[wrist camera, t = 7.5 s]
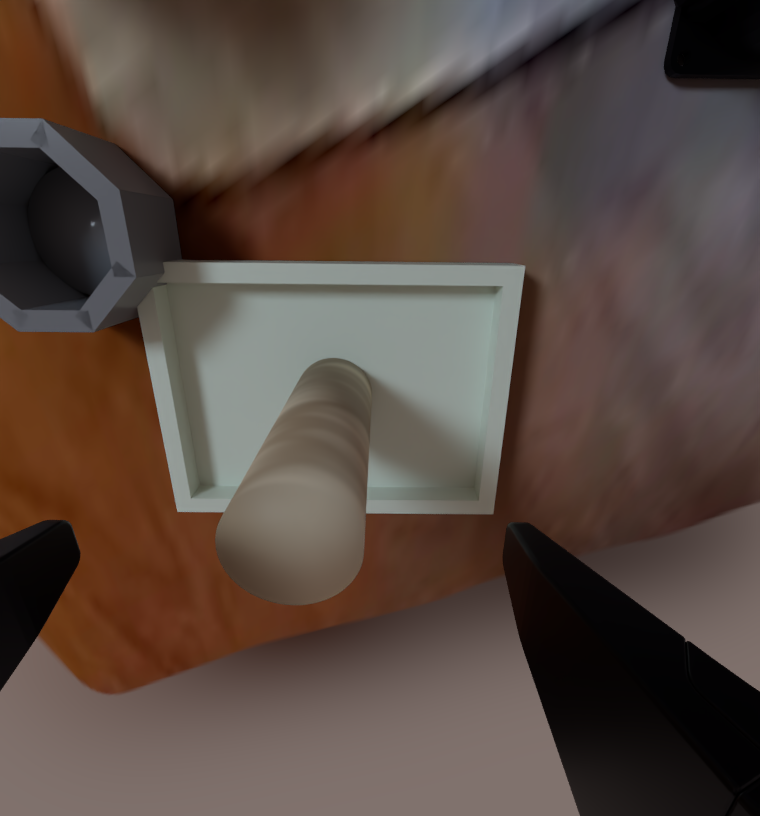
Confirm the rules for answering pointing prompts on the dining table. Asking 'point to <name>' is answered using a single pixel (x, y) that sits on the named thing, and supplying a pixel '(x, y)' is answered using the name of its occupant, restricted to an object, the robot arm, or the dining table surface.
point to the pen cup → (76, 230)
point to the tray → (346, 339)
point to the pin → (304, 493)
